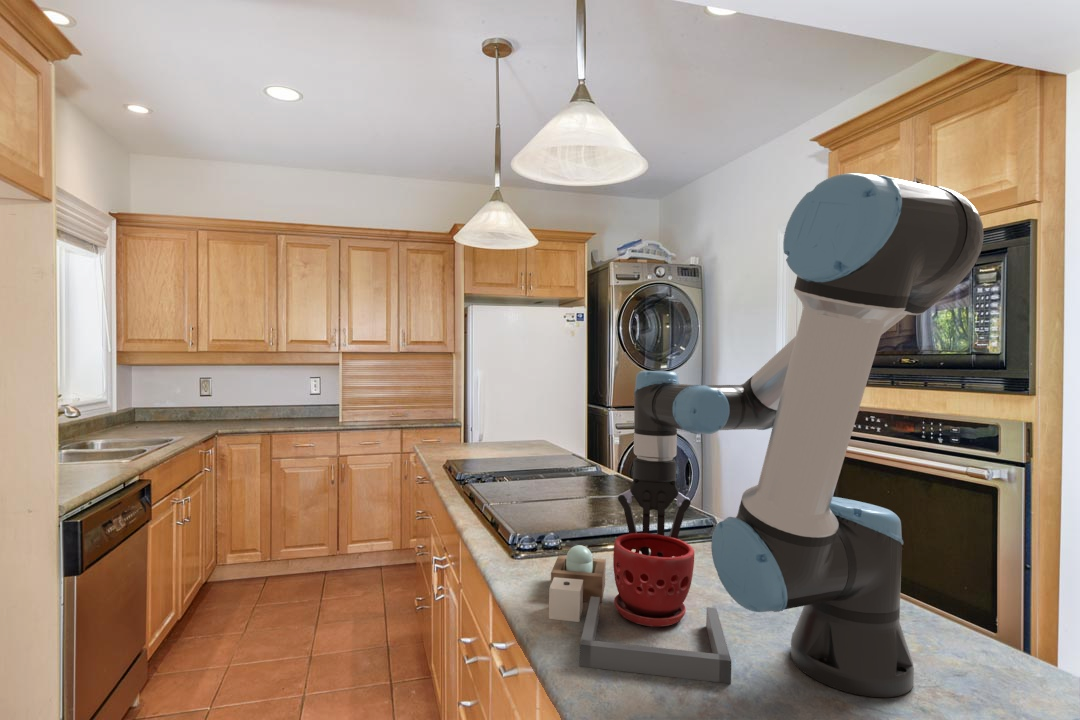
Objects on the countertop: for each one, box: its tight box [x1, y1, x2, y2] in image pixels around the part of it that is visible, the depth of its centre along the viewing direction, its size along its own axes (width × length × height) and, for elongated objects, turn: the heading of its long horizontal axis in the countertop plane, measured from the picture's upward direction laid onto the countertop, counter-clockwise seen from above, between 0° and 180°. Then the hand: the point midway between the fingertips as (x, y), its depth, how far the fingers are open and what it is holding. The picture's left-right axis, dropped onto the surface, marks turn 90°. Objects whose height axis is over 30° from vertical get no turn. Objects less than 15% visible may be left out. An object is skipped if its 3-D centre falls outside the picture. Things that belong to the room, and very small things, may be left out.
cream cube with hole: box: [548, 577, 584, 623], centre depth 97 cm, size 5×5×5 cm
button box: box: [550, 555, 607, 604], centre depth 106 cm, size 9×9×4 cm
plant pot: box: [612, 532, 695, 627], centre depth 97 cm, size 13×13×12 cm
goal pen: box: [578, 596, 732, 685], centre depth 86 cm, size 20×16×3 cm
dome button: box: [566, 544, 593, 573], centre depth 106 cm, size 5×5×7 cm
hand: (652, 588), depth 104 cm, fingers closed
